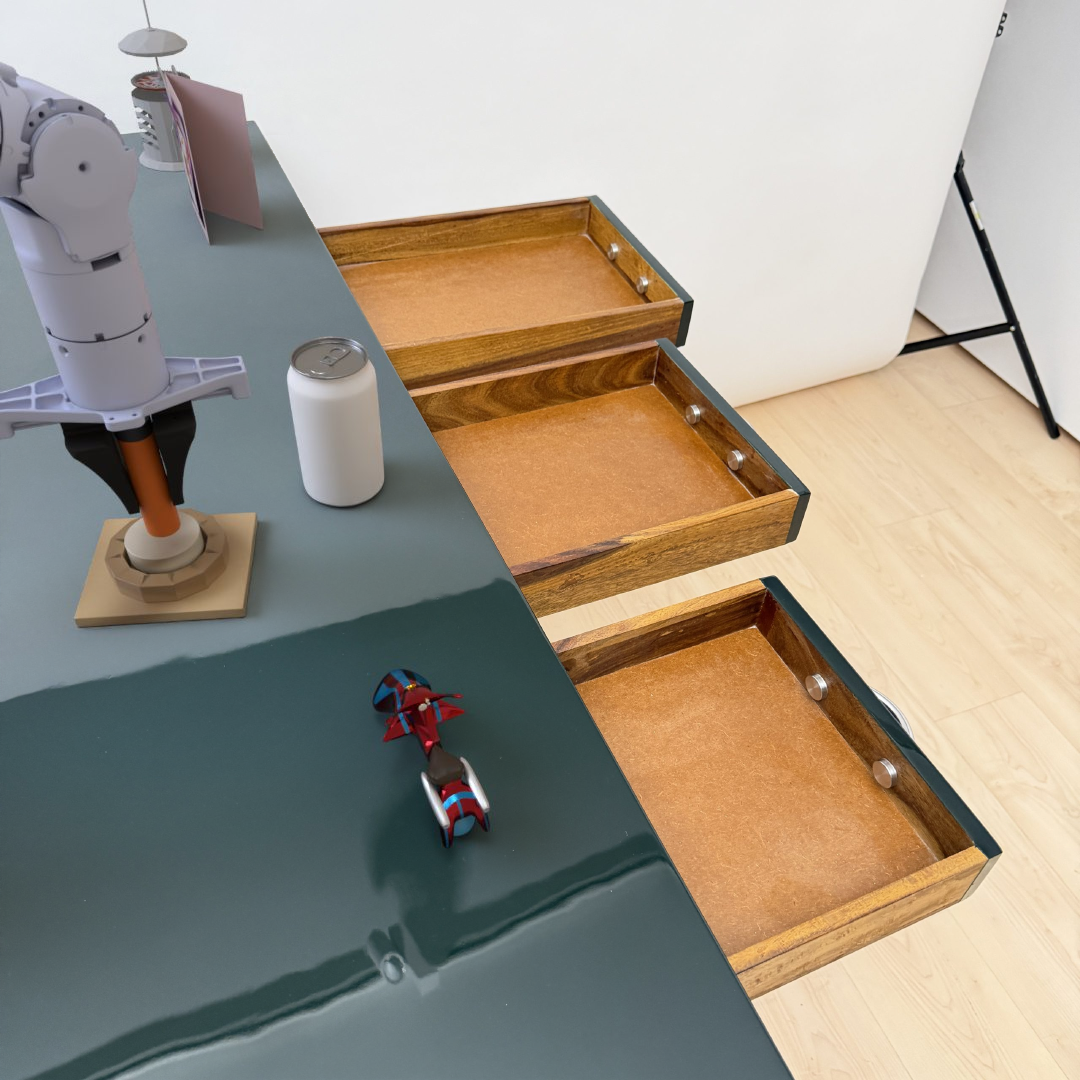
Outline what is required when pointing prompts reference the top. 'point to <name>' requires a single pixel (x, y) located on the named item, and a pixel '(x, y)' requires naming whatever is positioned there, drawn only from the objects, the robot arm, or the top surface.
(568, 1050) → the top surface
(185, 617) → the button housing
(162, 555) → the circle pad
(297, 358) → the can
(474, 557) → the top surface
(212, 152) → the greeting card
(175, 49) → the french press
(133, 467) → the marker
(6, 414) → the robot arm
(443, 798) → the hoverbike
